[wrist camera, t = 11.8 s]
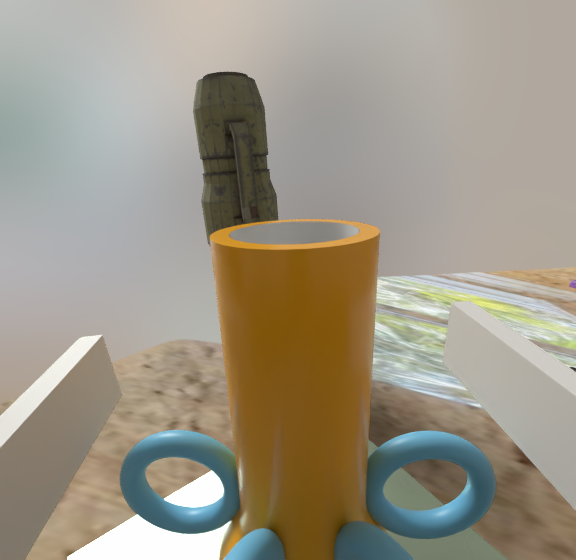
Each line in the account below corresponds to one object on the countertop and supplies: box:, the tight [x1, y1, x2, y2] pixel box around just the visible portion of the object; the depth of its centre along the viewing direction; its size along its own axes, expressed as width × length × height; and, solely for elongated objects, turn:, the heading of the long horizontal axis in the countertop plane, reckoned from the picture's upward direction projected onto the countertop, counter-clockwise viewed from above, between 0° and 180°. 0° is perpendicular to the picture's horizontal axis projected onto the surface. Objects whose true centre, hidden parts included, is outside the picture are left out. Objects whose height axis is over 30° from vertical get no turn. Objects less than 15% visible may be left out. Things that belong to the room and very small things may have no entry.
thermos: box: [193, 72, 278, 247], centre depth 39 cm, size 9×12×35 cm
